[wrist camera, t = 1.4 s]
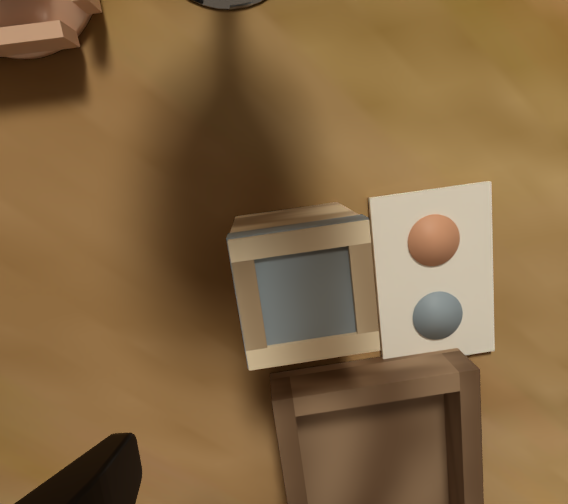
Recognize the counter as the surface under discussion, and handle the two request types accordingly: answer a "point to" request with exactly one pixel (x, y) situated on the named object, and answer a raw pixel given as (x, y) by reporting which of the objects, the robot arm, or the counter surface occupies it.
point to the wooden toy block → (304, 284)
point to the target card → (434, 270)
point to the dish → (42, 26)
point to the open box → (381, 431)
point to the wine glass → (227, 4)
